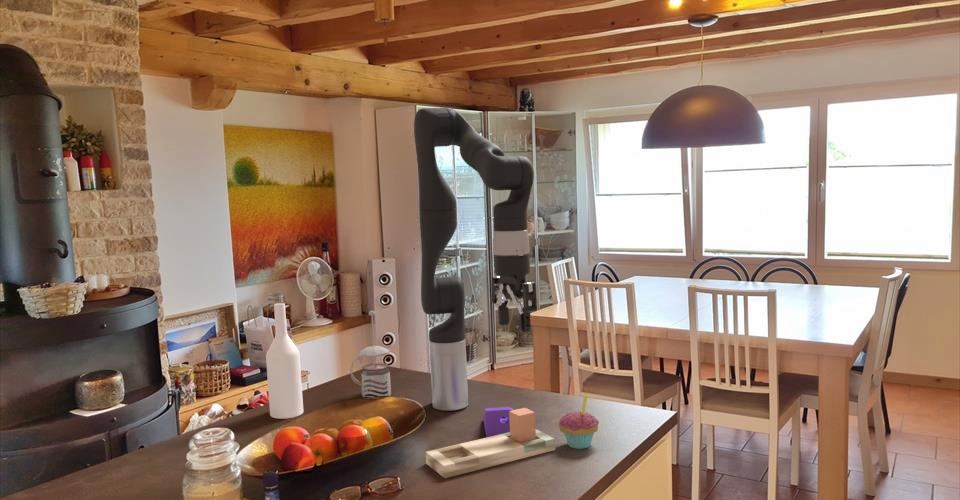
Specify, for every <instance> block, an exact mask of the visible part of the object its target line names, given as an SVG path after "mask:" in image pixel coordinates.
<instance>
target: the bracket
mask: <svg viewBox="0 0 960 500" xmlns="http://www.w3.org/2000/svg"><path fill="white" fill-rule="evenodd" d="M484 409H485V411H484V412H485V414H483V418H482V421H483V425H484V431H485V436H486V437H485V438H487V437H491V436H495V435H500V434H504V433H508V432H510V419H509V411H512V410H515V409H514V408H512V407H510V406H503V407H502V406H501V407H500V406H499V407H486V408H484Z"/></svg>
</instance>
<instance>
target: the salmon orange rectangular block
mask: <svg viewBox="0 0 960 500" xmlns="http://www.w3.org/2000/svg"><path fill="white" fill-rule="evenodd" d="M509 419H510V439H512V440H514V441H516V442H517V443H519V444H520V443H524V442H528V441H532V440H536V411H533V410H531V409H528V408H527V407H522V408H517V409H514V410H512V411H509Z"/></svg>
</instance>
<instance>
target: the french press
mask: <svg viewBox="0 0 960 500" xmlns="http://www.w3.org/2000/svg"><path fill="white" fill-rule="evenodd" d="M376 315H377V313H376V311H375V310H370V311H369V312H368V316H371V322H372V325H371V326H372V328H374V317H373V316H376ZM374 332H375V331H374V329H372V343H373V345H371V346H366V347H365V348H364V349H362V350H361V351H360V352H359V353H358V354H359V356H358V357H357V358H355V359H354V360H353V361H352V363H351V365H350V368H349V373H350V377H351V380H352V382H354V383H355V384H357V385H359V386H360V389H361V390H360V391H361V392H360V393H361V396H362V397H363V398H365V397H374V396H377V397H380V396H386V397H387V396H388V397H389V396H391V395H392V388H391V387H392V386H391V372H390V369H388V368H389V364H387V363H384V362H381V363H380V362H378V363H375V362H376V357H380V356H381V357H382V356H387V354H389V353H390V350H389V349H388V348H386V347H384V346H380V345H375V333H374ZM362 357H371V358H372V357H374V360H373V361H374V363H368V364H365V365H362V367H361V369H362V370H363V371H362V372H361V375H360V376H361V381H359V380H358V379H357V378H356V377H355V376H354V373H353V368H354V367H353V366H354V364H355V362H356V361H357V360H359V363H360V364H361V363H362V361H363V359H362ZM374 373H377V374H374ZM370 374H372V375H370ZM376 382H377V383H376ZM377 387H378V388H377ZM381 388H382V389H381ZM375 391H376V392H375ZM378 392H379V393H378ZM386 392H387V393H386ZM383 393H385V394H383Z"/></svg>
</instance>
